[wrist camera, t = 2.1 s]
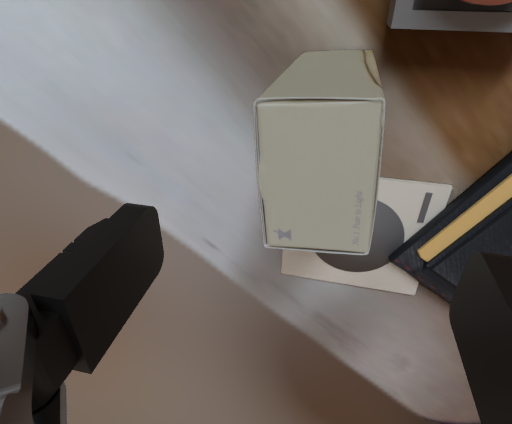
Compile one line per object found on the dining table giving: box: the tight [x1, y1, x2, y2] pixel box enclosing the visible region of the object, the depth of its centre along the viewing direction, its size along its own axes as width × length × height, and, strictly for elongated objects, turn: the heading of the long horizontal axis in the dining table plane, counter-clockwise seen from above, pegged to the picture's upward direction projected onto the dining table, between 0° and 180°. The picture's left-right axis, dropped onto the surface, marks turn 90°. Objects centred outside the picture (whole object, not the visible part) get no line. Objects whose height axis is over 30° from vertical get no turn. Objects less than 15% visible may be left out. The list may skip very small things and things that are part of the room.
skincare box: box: [253, 50, 386, 255], centre depth 18 cm, size 6×4×12 cm
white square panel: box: [281, 177, 452, 295], centre depth 27 cm, size 11×10×1 cm
